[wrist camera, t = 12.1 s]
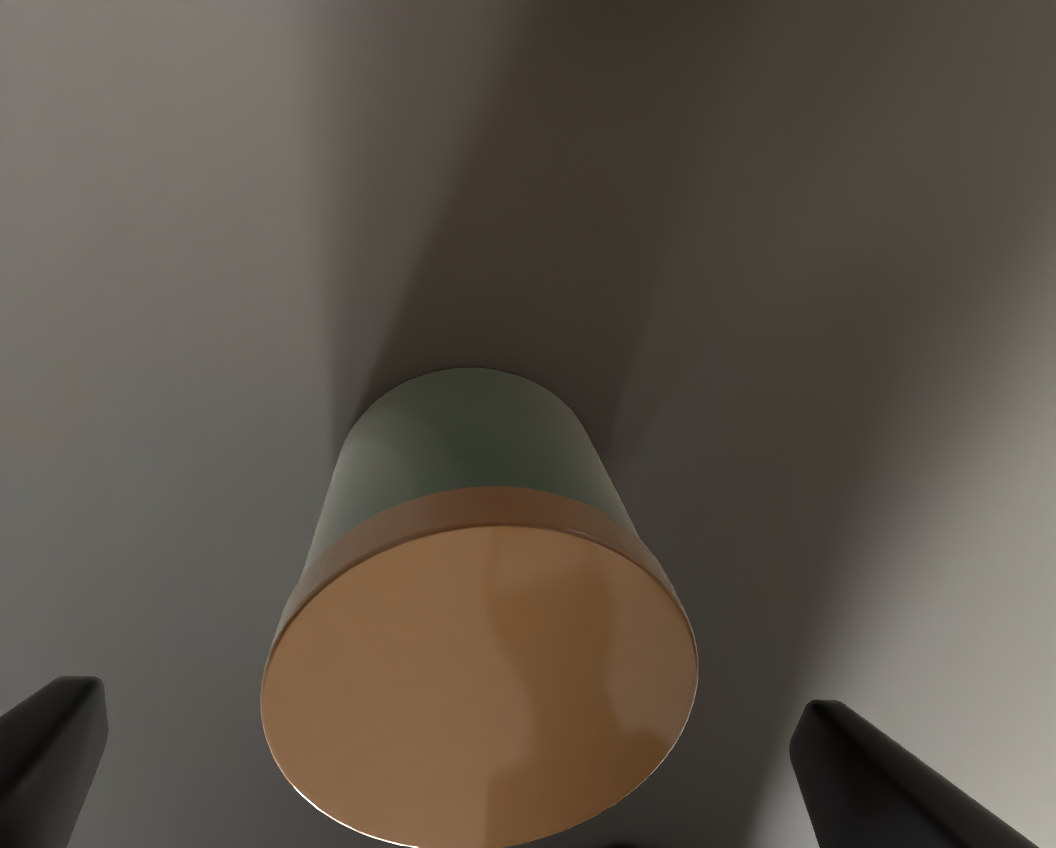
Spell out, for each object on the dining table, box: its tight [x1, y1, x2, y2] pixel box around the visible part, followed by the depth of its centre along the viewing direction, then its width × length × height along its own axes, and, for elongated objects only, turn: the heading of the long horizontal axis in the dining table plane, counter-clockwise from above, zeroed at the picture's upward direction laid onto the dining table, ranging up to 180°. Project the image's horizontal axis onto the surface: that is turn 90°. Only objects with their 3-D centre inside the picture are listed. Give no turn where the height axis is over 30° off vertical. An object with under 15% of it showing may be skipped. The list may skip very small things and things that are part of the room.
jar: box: [260, 367, 698, 848], centre depth 11 cm, size 6×6×6 cm
